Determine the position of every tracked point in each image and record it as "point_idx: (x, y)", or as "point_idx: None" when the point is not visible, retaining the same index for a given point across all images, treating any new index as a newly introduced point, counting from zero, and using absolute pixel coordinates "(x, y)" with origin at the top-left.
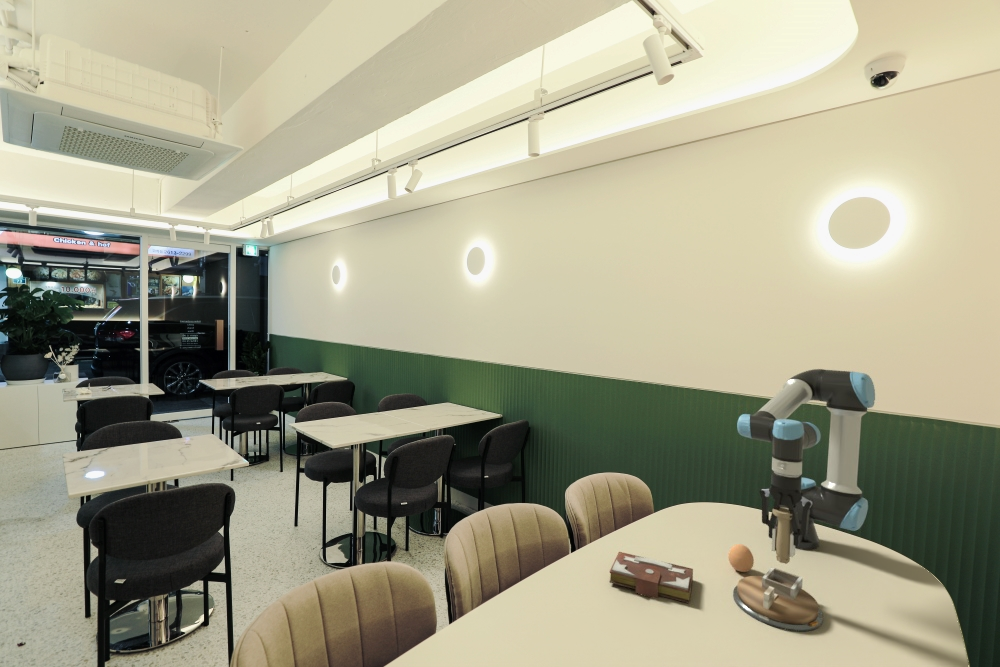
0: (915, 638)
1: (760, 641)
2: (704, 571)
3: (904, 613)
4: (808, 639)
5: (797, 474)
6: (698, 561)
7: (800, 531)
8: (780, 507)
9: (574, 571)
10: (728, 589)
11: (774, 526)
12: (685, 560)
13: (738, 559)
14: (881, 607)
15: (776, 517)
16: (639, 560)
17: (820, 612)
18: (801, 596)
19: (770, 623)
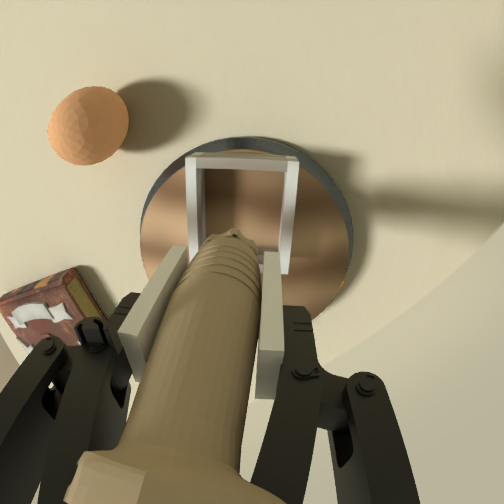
0: (494, 173)
1: (254, 370)
2: (65, 208)
3: (484, 72)
4: (325, 321)
5: None
6: (38, 171)
7: (325, 422)
8: (66, 501)
9: (19, 346)
10: (133, 249)
11: (123, 360)
12: (26, 193)
13: (88, 164)
14: (454, 67)
15: (110, 439)
16: (22, 321)
17: (347, 218)
18: (302, 218)
19: None
